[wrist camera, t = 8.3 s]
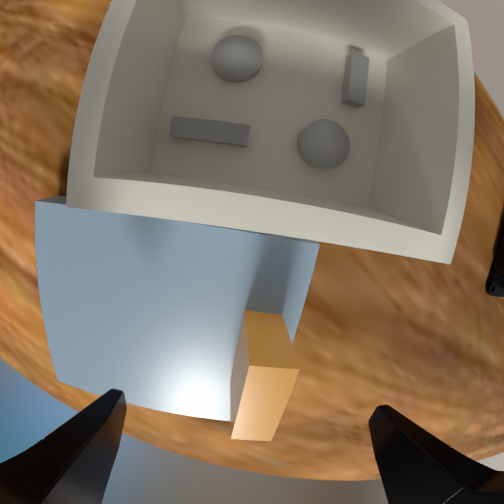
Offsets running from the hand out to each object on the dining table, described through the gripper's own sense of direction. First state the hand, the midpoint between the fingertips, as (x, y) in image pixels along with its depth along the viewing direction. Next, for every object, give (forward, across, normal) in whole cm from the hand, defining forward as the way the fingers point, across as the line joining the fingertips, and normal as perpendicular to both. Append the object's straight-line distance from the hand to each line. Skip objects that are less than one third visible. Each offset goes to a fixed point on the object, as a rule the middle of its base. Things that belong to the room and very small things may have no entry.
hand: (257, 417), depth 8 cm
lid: (+6, +4, 0) cm, 8 cm away
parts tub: (+6, 0, -10) cm, 12 cm away
